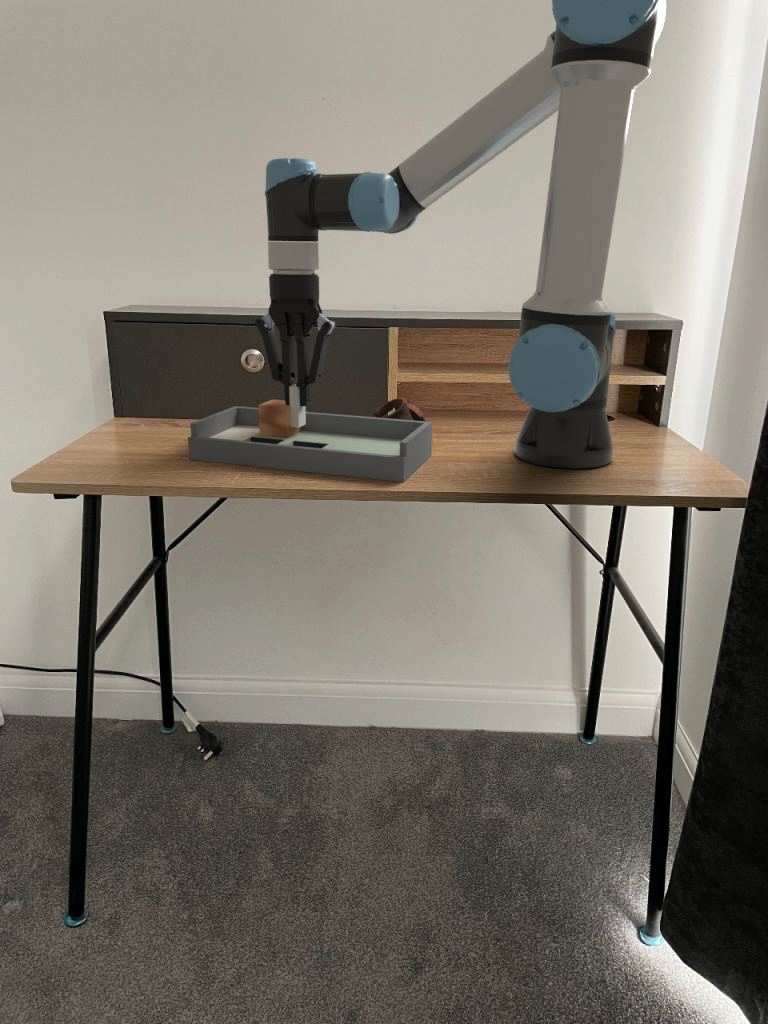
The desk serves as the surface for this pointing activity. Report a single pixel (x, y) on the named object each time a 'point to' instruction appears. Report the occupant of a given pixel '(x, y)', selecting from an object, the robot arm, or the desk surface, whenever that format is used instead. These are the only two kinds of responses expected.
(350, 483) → the desk surface
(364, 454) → the box
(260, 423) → the block
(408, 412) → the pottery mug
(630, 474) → the desk surface
